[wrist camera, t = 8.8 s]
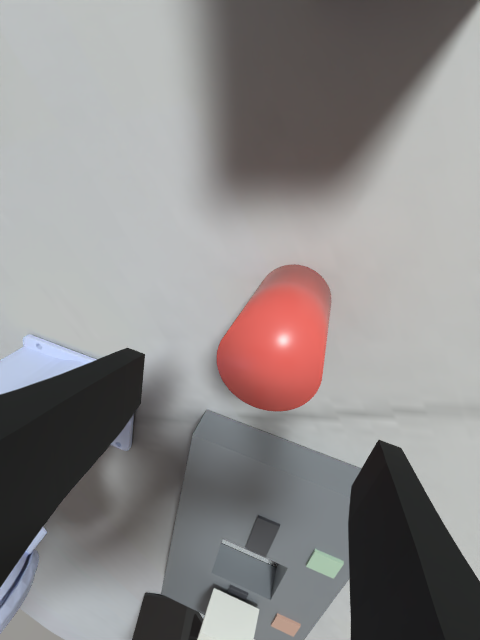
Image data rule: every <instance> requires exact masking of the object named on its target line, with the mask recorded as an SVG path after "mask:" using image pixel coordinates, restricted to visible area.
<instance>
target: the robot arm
mask: <svg viewBox="0 0 480 640" xmlns="http://www.w3.org/2000/svg"><path fill="white" fill-rule="evenodd" d="M23 345H24V347H22V348H20V349H19V350H17V351H15V352H13V353H12V354H10V355H8V356H6V357H5V358H3V359H1V360H0V633H1V632H2V631H3V630H4V629H5V627H6V626H7V625H8V623H9V622H10V621H11V619H12V618H13V617H14V615H15V614H16V612H17V611H18V609H19V608H20V606H21V605H22V603H23V601H24V600H25V598H26V596H27V594H28V592H29V590H30V588H31V586H32V583H33V580H34V576H35V572H36V570H37V566H38V562H39V555H38V552H37V551H36V550H35V547H36V546H37V545H38V544H39V542H40V541H41V540H42V539H43V537H44V536H45V535H46V534H47V531H46V529H45V528H44V527H43V526H44V525H45V523H46V522H47V520H48V519H49V518H50V516H51V515H52V514H53V512H54V511H55V509H56V508H57V507H58V505H59V504H60V503H61V502H62V500H63V499H64V498H65V497H66V495H67V494H68V493H69V492H70V491H71V489H72V488H73V487H74V486H75V485H76V484H77V483H78V481H79V480H80V479H81V478H82V477H83V476H84V474H85V473H86V472H87V471H88V470H89V469H90V468H91V466H92V465H93V464H94V463H95V462H96V461H97V460H98V458H99V457H100V456H101V455H102V454H103V453H104V452H105V450H106V449H107V448H108V447H109V446H110V445H112V446H115V447H117V448H119V449H122V450H124V451H128V450H129V449H130V448H131V446H132V432H133V419H134V413H135V411H136V410H137V408H138V407H139V405H140V404H141V393H142V382H143V370H144V359H145V354H143V353H140V352H138V351H135V350H132V349H129V348H126V349H123V350H120V351H117V352H115V353H112V354H110V355H107V356H105V357H102V358H100V359H98V360H97V359H94V358H91V357H89V356H86V355H84V354H81V353H78V352H76V351H73V350H70V349H68V348H65V347H62V346H60V345H57V344H54V343H52V342H49V341H46V340H44V339H41V338H39V337H36V336H33V335H30V334H28V335H26V336H24V337H23ZM348 542H349V575H350V606H351V640H480V581H479V580H478V578H477V577H476V575H475V573H474V572H473V570H472V569H471V567H470V566H469V564H468V563H467V561H466V559H465V558H464V556H463V555H462V553H461V552H460V550H459V548H458V547H457V545H456V543H455V542H454V540H453V539H452V537H451V535H450V534H449V532H448V530H447V529H446V527H445V525H444V524H443V522H442V520H441V518H440V517H439V515H438V513H437V511H436V510H435V508H434V506H433V504H432V503H431V501H430V499H429V497H428V496H427V494H426V492H425V490H424V488H423V487H422V485H421V483H420V481H419V479H418V477H417V476H416V474H415V472H414V470H413V468H412V467H411V465H410V463H409V461H408V459H407V457H406V456H405V454H404V452H403V450H402V449H401V448H400V447H397V446H394V445H392V444H389V443H386V442H383V441H381V440H378V442H377V443H376V445H375V447H374V449H373V450H372V452H371V454H370V455H369V457H368V459H367V460H366V462H365V464H364V466H363V467H362V469H361V471H360V472H359V474H358V476H357V477H356V479H355V481H354V483H353V484H352V486H351V495H350V505H349V518H348Z"/></svg>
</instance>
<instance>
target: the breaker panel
mask: <svg viewBox="0 0 480 640" xmlns="http://www.w3.org/2000/svg"><path fill="white" fill-rule="evenodd" d="M360 471H361V468H358V467H356V466H353V465H350V464H348V463H345V462H343V461H340V460H337V459H335V458H332V457H329V456H327V455H324V454H322V453H319V452H316V451H314V450H311V449H308V448H306V447H303V446H301V445H298V444H295V443H293V442H290V441H288V440H285V439H282V438H280V437H277V436H274V435H272V434H269V433H267V432H264V431H261V430H259V429H256V428H254V427H251V426H248V425H246V424H243V423H240V422H238V421H235V420H233V419H230V418H227V417H225V416H222V415H219V414H217V413H214V412H212V411H209V410H206V412H205V414H204V415H203V417H202V419H201V421H200V422H199V424H198V426H197V428H196V430H195V431H194V433H193V435H192V440H191V445H190V450H189V455H188V460H187V465H186V470H185V475H184V480H183V486H182V491H181V496H180V501H179V506H178V511H177V516H176V521H175V526H174V531H173V536H172V541H171V546H170V551H169V556H168V561H167V566H166V571H165V576H164V581H163V586H162V591H161V594H163V595H165V596H167V597H169V598H171V599H173V600H175V601H177V602H179V603H181V604H183V605H185V606H187V607H189V608H191V609H193V610H195V611H198V612H200V613H202V614H204V615H205V613H206V610H207V606H208V603H209V601H210V598H211V595H212V592H213V589H214V588H215V589H217V590H220V591H222V592H224V593H226V594H228V595H230V596H232V597H234V598H237V599H239V600H241V601H243V602H245V603H247V604H249V605H251V606H254V607H256V608H258V609H259V614H258V619H257V624H256V629H255V634H254V639H255V640H304V639H305V638H306V637H307V635H308V634H309V633H310V631H311V630H312V629H313V627H314V626H315V624H316V623H317V622H318V620H319V619H320V618H321V616H322V615H323V614H324V612H325V611H326V610H327V608H328V607H329V605H330V604H331V603H332V601H333V600H334V599H335V597H336V596H337V595H338V593H339V592H340V591H341V589H342V588H343V586H344V585H345V584H346V582H347V581H348V580H349V578H350V575H349V542H348V518H349V505H350V495H351V486H352V484H353V483H354V481H355V479H356V477H357V476H358V474H359V472H360ZM222 539H224V540H226V541H229V542H231V543H233V544H235V545H238V546H240V547H242V548H244V549H247V550H249V551H251V552H253V553H256V554H258V555H260V556H262V557H265V558H267V559H269V560H271V561H274V562H276V563H278V565H277V567H274V566H271V565H269V564H267V563H265V562H262V561H260V560H258V559H256V558H253V557H251V556H249V555H247V554H244V553H242V552H240V551H238V550H235V549H233V548H231V547H229V546H227V545H224V544H222V543H221V542H222Z"/></svg>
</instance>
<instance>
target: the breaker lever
mask: <svg viewBox="0 0 480 640" xmlns="http://www.w3.org/2000/svg"><path fill="white" fill-rule="evenodd" d="M258 614H259V609H258V608H256V607H254V606H251V605H249V604H247V603H245V602H243V601H241V600H239V599H237V598H234V597H232V596H230V595H228V594H226V593H224V592H222V591H220V590H217V589H215V588H214V589H213V592H212V595H211V598H210V601H209V603H208V606H207V610H206V613H205V616H204V619H203V622H202V625H201V629H200V632H199V635H198V638H197V640H253V639H254V634H255V629H256V624H257V619H258Z"/></svg>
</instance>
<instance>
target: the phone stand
mask: <svg viewBox="0 0 480 640" xmlns="http://www.w3.org/2000/svg"><path fill="white" fill-rule="evenodd" d="M202 622H203V618H202V617H201V615H200V613H199V612H198V611H195V610H193V609H191V608H189V607H187V606H185V605H183V604H181V603H179V602H177V601H175V600H173V599H171V598H169V597H167V596H164V595H157V594H150V593H146V594H145V596H144V599H143V602H142V606H141V610H140V613H139V617H138V621H137V624H136V628H135V631H134V635H133V639H132V640H197V638H198V635H199V632H200V629H201V625H202Z"/></svg>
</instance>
